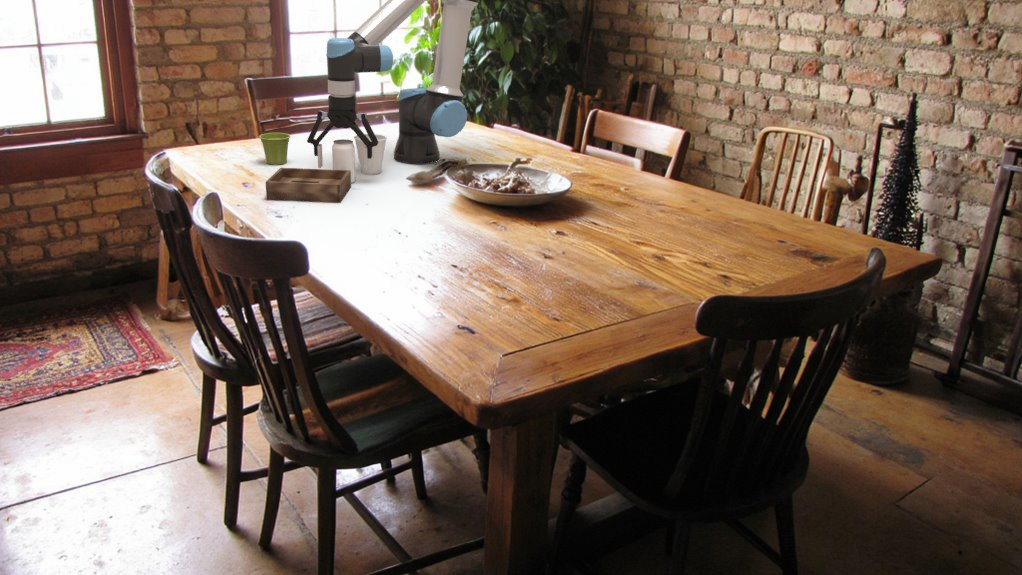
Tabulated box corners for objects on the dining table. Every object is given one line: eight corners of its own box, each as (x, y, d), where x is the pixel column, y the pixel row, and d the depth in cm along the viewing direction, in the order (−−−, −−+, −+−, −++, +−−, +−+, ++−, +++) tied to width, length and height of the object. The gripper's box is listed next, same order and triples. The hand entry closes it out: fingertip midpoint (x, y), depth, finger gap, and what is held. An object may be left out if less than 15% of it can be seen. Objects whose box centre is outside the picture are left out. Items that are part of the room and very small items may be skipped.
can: (350, 185, 246) (349, 144, 242) (329, 183, 247) (328, 142, 243) (358, 180, 252) (357, 140, 248) (338, 178, 253) (337, 138, 249)
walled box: (351, 187, 244) (350, 170, 242) (340, 202, 229) (339, 184, 227) (281, 184, 244) (280, 167, 242) (266, 199, 229) (265, 181, 227)
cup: (390, 169, 265) (390, 134, 261) (383, 177, 256) (382, 141, 252) (359, 167, 266) (358, 132, 262) (351, 175, 257) (349, 139, 252)
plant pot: (287, 167, 263) (285, 139, 259) (257, 165, 263) (255, 138, 259) (295, 160, 271) (293, 133, 268) (266, 158, 271) (264, 132, 268)
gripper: (387, 95, 244) (387, 167, 252) (300, 90, 243) (304, 163, 251) (383, 99, 237) (384, 173, 245) (294, 94, 236) (298, 169, 244)
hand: (343, 168), depth 248 cm, fingers open, 13 cm apart
